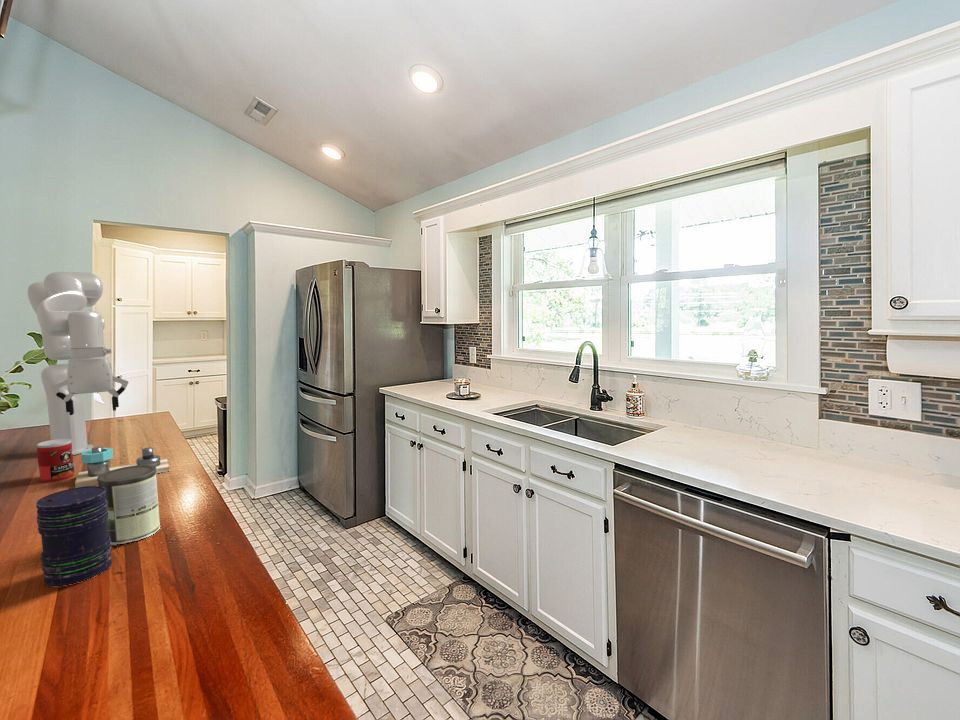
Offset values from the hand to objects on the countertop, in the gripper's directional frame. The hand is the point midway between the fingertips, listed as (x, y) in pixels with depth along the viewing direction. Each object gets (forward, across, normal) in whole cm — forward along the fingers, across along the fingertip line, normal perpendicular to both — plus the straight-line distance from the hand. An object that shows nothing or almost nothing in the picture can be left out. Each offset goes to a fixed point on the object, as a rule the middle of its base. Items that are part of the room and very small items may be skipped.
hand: (93, 412), depth 135 cm
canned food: (+20, +10, -9) cm, 24 cm away
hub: (+19, -12, 0) cm, 22 cm away
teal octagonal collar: (+14, 0, 0) cm, 14 cm away
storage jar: (+21, 0, +63) cm, 66 cm away
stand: (+19, 0, 0) cm, 19 cm away
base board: (+20, -6, 0) cm, 21 cm away
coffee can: (+21, -8, +50) cm, 55 cm away
